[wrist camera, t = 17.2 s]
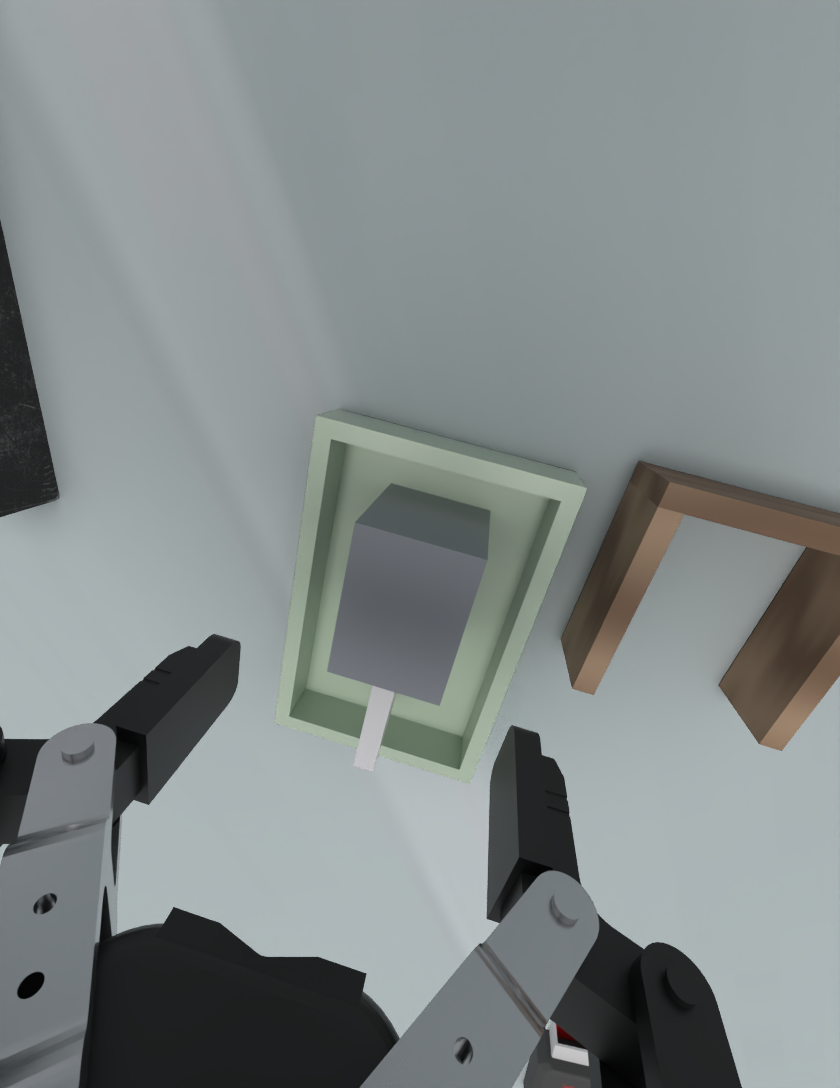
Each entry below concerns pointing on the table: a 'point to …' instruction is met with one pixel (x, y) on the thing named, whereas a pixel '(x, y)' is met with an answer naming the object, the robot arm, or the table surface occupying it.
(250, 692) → the table surface
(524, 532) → the tray
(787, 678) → the u-shaped wooden frame
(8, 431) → the radio
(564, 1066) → the usb drive
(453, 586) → the grey block with stick
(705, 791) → the table surface
